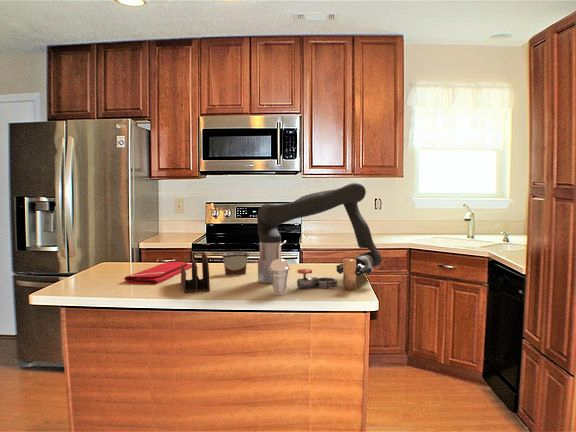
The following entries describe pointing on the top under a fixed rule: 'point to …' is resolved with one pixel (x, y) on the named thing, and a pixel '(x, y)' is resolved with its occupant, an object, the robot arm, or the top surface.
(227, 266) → the food container
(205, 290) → the letter holder
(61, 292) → the top surface
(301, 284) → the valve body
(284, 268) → the cup with straw
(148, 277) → the dish drying mat
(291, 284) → the top surface
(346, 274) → the copper cylinder
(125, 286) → the top surface
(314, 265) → the top surface
